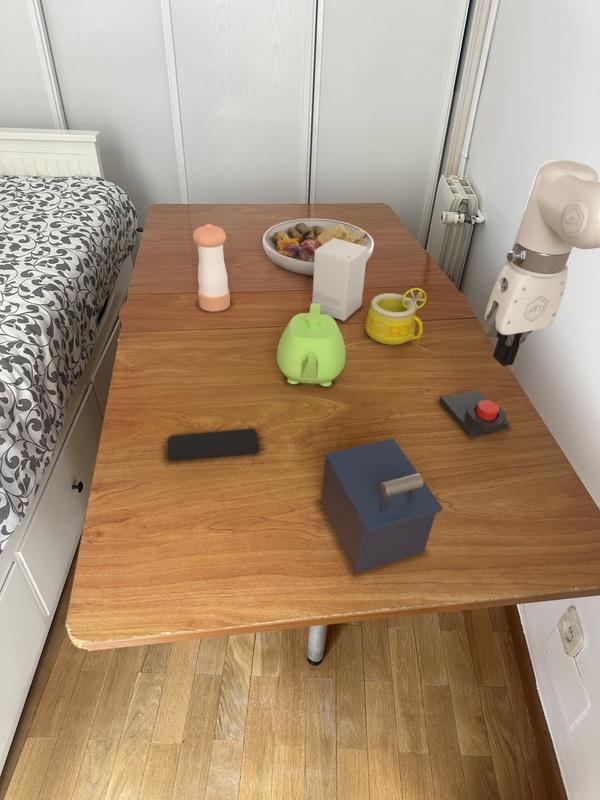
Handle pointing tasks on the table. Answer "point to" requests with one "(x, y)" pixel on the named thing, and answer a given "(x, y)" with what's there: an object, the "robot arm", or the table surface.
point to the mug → (394, 318)
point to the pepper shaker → (212, 268)
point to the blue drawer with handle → (382, 484)
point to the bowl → (308, 241)
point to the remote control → (212, 444)
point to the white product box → (339, 277)
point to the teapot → (311, 349)
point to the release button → (487, 410)
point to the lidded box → (375, 544)
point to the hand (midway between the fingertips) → (502, 360)
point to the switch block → (472, 413)
